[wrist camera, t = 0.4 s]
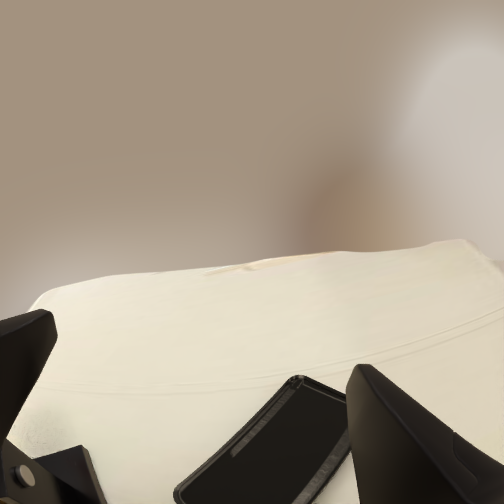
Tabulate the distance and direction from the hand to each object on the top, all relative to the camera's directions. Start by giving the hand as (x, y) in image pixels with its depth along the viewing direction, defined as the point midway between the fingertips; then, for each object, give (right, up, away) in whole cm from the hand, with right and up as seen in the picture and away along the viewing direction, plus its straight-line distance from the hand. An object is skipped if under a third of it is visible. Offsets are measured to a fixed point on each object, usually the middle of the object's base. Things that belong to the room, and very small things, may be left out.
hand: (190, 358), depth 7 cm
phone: (+4, -13, +10) cm, 16 cm away
